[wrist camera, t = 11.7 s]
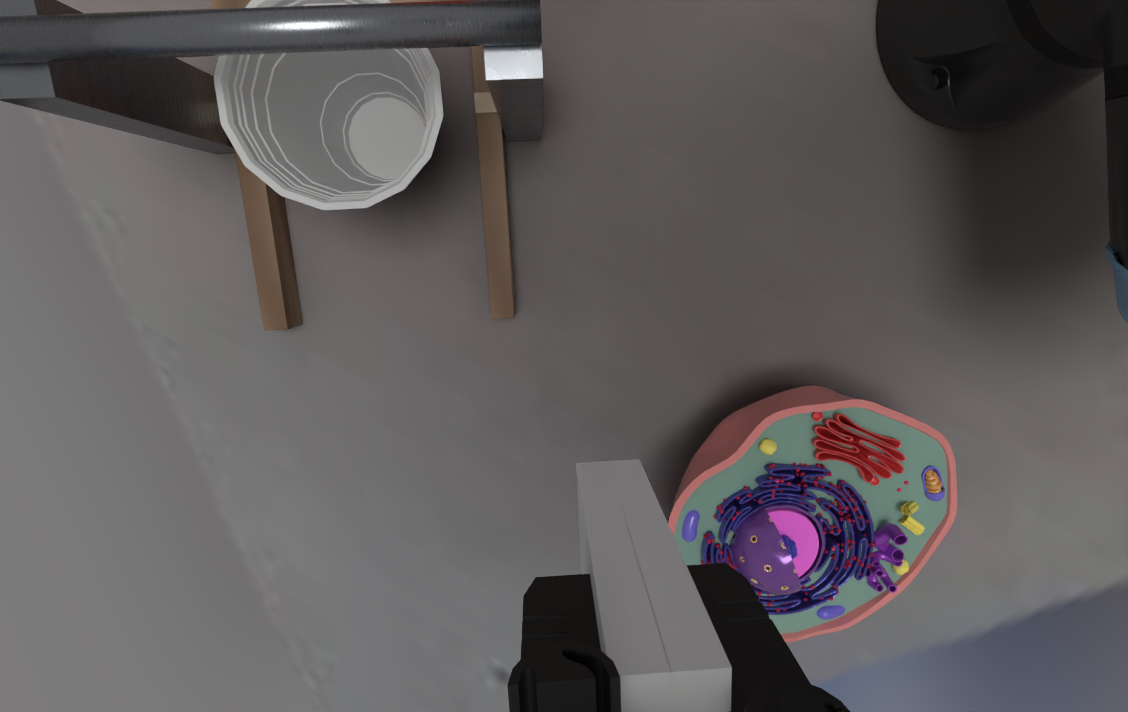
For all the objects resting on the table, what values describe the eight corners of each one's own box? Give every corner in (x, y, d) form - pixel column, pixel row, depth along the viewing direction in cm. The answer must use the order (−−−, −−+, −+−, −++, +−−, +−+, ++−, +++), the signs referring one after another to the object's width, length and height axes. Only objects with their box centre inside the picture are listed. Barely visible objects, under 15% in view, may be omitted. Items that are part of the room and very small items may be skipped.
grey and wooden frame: (533, -14, 37) (528, -218, 20) (550, 310, 42) (557, 362, 25) (188, -2, 37) (-112, -205, 20) (244, 326, 41) (39, 390, 24)
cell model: (911, 514, 47) (1026, 601, 36) (687, 602, 48) (731, 713, 37) (856, 329, 43) (965, 362, 32) (614, 427, 44) (639, 492, 33)
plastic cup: (502, 153, 39) (486, 119, 28) (383, 249, 40) (320, 255, 29) (400, 16, 37) (336, -84, 26) (278, 120, 38) (162, 69, 27)
